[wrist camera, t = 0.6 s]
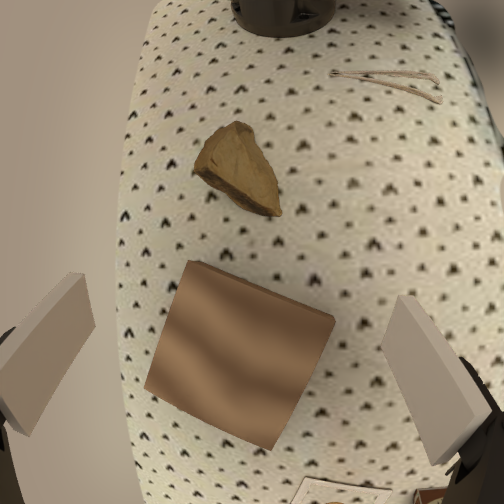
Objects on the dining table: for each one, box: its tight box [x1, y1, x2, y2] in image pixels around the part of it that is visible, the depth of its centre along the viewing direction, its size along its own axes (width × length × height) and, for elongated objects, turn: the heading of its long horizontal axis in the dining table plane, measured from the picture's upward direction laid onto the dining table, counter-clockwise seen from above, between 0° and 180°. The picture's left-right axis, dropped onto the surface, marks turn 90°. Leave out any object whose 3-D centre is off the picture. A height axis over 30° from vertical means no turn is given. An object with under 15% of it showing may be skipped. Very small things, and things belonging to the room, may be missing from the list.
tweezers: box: [328, 71, 443, 104], centre depth 31 cm, size 17×5×2 cm, turn 83°
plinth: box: [144, 260, 336, 451], centre depth 30 cm, size 15×15×4 cm
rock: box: [194, 121, 282, 217], centre depth 30 cm, size 11×9×10 cm
